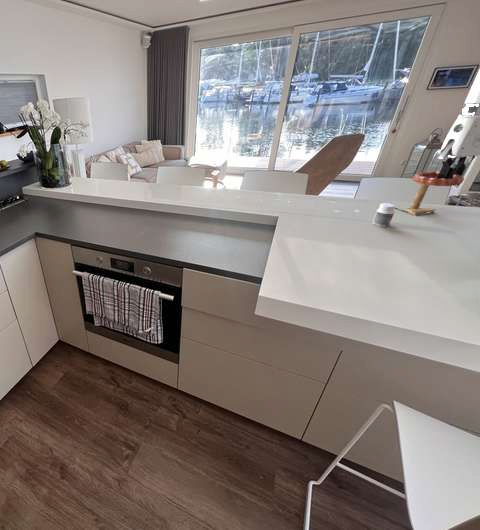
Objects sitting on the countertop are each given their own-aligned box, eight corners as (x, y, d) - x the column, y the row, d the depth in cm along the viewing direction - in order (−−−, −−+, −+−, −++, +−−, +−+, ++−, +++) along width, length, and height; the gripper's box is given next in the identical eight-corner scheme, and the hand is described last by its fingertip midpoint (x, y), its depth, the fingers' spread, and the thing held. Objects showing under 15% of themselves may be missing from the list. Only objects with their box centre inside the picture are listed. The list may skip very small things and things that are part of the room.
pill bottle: (388, 230, 102) (398, 207, 98) (372, 228, 105) (380, 206, 100) (387, 225, 106) (396, 203, 102) (370, 223, 108) (378, 202, 104)
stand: (434, 212, 112) (451, 178, 105) (414, 215, 111) (430, 181, 104) (412, 205, 119) (426, 173, 112) (393, 208, 118) (406, 176, 112)
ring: (472, 183, 80) (476, 176, 79) (439, 188, 80) (443, 181, 79) (431, 175, 89) (434, 169, 88) (402, 180, 89) (404, 173, 88)
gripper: (472, 113, 72) (437, 186, 81) (526, 107, 73) (486, 179, 82) (438, 113, 78) (410, 180, 87) (489, 106, 80) (456, 174, 89)
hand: (447, 179), depth 85 cm, fingers closed on ring, 2 cm apart
